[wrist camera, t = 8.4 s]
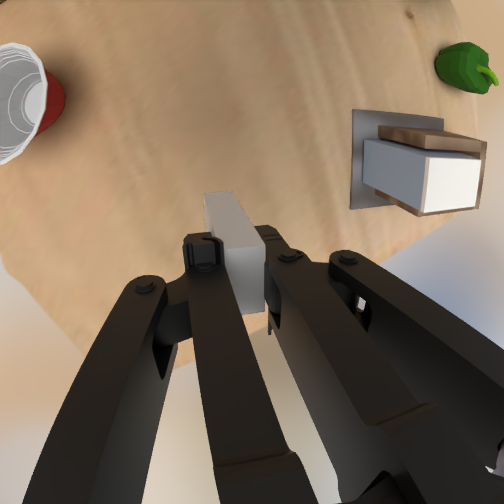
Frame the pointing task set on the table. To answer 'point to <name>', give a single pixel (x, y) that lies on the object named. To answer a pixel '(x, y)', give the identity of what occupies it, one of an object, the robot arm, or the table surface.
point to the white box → (421, 175)
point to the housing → (410, 132)
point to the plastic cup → (25, 99)
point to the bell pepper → (466, 68)
